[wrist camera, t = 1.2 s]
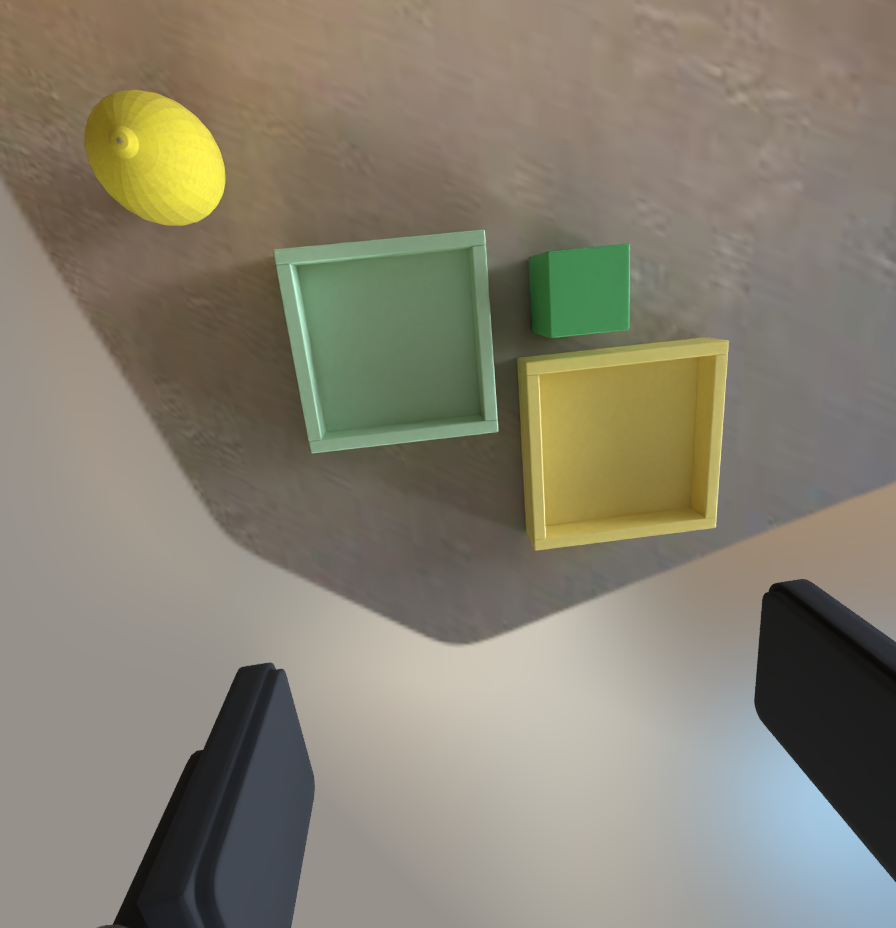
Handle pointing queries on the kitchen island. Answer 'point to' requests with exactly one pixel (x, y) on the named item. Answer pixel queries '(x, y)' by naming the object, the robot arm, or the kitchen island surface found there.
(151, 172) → the lemon
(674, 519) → the yellow tray
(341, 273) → the green tray
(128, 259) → the kitchen island surface
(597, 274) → the green cube
